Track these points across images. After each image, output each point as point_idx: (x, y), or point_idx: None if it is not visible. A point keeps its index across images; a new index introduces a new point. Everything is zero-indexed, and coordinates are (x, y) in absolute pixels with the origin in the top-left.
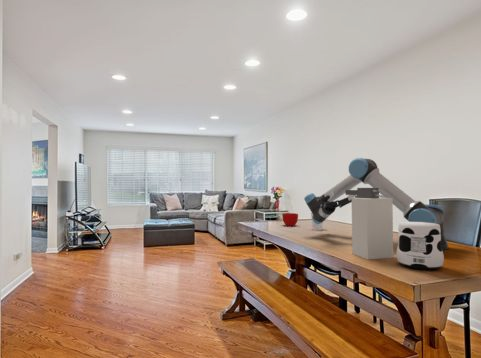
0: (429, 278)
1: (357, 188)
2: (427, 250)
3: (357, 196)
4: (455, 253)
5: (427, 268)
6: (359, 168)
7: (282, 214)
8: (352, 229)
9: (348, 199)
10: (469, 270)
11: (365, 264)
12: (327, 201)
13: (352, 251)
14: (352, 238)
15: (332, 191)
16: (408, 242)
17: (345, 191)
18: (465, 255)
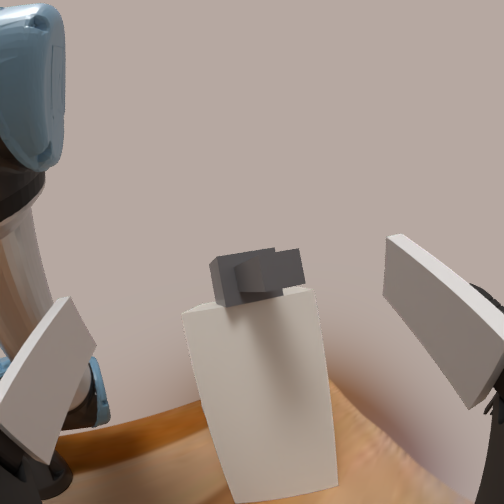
0: None
1: (274, 250)
2: None
3: (282, 289)
4: (78, 447)
5: None
6: (57, 100)
7: None
8: (331, 418)
9: (38, 453)
10: (193, 405)
11: (344, 417)
12: (493, 421)
13: (337, 479)
14: (334, 446)
15: (390, 236)
16: None
17: (300, 259)
18: (86, 438)
